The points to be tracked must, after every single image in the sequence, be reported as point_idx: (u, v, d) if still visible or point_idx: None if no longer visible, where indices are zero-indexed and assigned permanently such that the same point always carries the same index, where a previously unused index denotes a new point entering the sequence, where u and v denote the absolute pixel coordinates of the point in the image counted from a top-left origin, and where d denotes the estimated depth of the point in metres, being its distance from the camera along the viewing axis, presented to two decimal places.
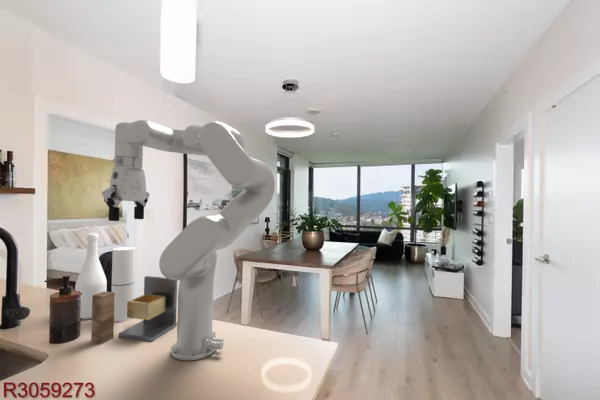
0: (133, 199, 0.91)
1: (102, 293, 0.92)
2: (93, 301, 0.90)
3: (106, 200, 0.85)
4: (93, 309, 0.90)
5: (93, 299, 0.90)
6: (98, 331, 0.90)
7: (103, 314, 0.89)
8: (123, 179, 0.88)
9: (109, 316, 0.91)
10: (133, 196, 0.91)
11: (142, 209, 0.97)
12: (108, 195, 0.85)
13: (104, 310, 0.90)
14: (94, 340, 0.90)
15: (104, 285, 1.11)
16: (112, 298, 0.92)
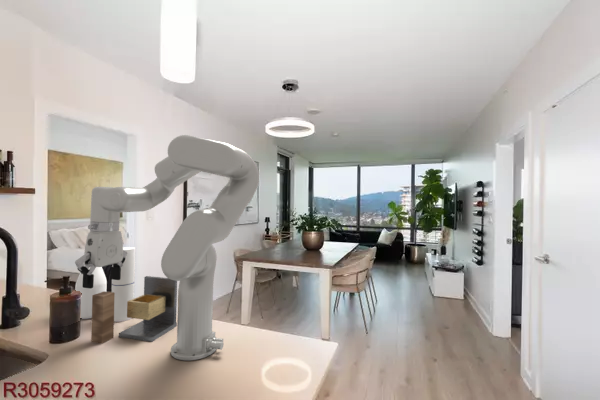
0: (108, 263, 0.91)
1: (102, 293, 0.92)
2: (93, 301, 0.90)
3: (79, 269, 0.84)
4: (93, 309, 0.90)
5: (93, 299, 0.90)
6: (98, 331, 0.90)
7: (103, 314, 0.89)
8: (98, 246, 0.87)
9: (109, 316, 0.91)
10: (108, 261, 0.90)
11: (119, 270, 0.96)
12: (81, 264, 0.84)
13: (104, 310, 0.90)
14: (94, 340, 0.90)
15: (104, 285, 1.11)
16: (112, 298, 0.92)
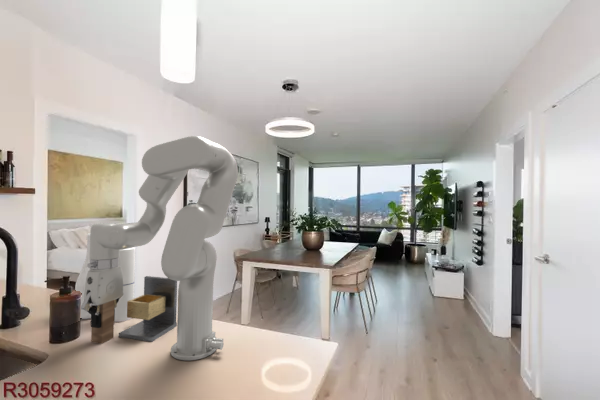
0: (109, 300, 0.90)
1: None
2: None
3: None
4: None
5: None
6: (98, 331, 0.90)
7: (103, 314, 0.89)
8: (98, 285, 0.87)
9: (109, 316, 0.91)
10: (109, 297, 0.90)
11: None
12: (88, 307, 0.86)
13: (104, 310, 0.90)
14: (94, 340, 0.90)
15: None
16: None
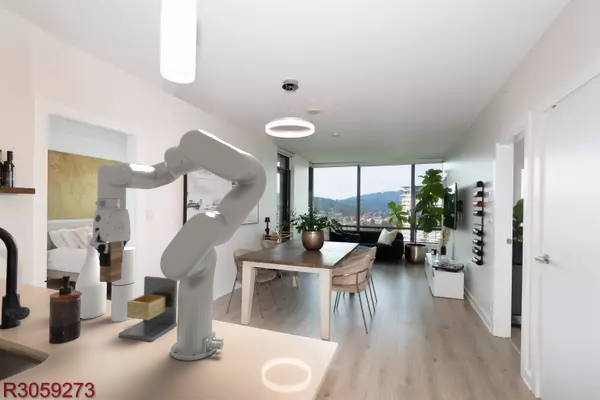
0: (117, 240, 0.91)
1: None
2: None
3: (96, 247, 0.87)
4: None
5: None
6: (106, 270, 0.90)
7: (111, 253, 0.90)
8: (106, 222, 0.88)
9: (117, 256, 0.92)
10: (117, 237, 0.91)
11: None
12: (97, 244, 0.87)
13: (112, 249, 0.91)
14: (102, 279, 0.91)
15: (104, 285, 1.11)
16: None
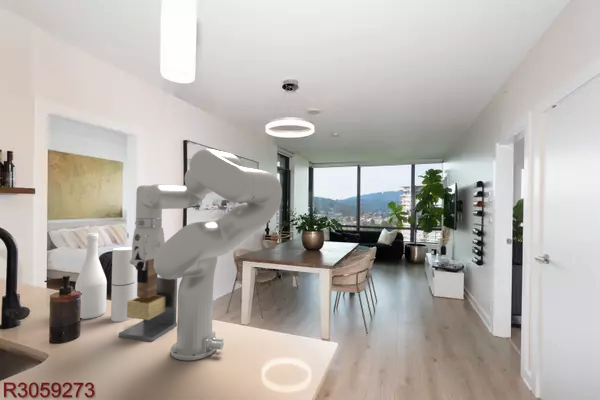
0: (153, 258, 0.96)
1: None
2: None
3: None
4: None
5: None
6: (143, 286, 0.95)
7: (148, 270, 0.95)
8: (145, 241, 0.93)
9: (153, 273, 0.97)
10: (153, 255, 0.96)
11: None
12: (136, 262, 0.92)
13: (149, 266, 0.95)
14: (140, 295, 0.95)
15: (104, 285, 1.11)
16: None
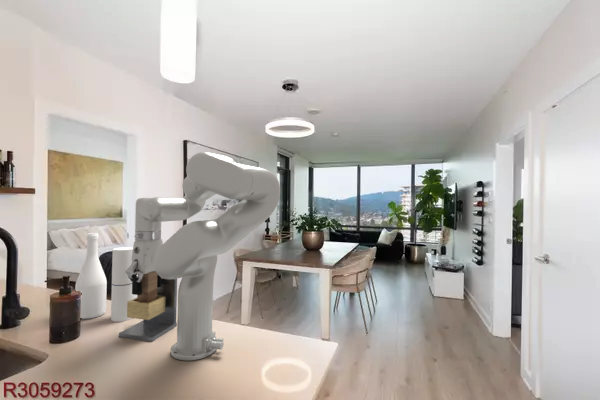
0: (153, 270, 0.96)
1: None
2: None
3: (130, 277, 0.90)
4: None
5: None
6: None
7: (148, 286, 0.95)
8: (144, 254, 0.92)
9: (153, 288, 0.97)
10: (153, 267, 0.96)
11: (159, 277, 1.01)
12: (132, 273, 0.90)
13: (149, 282, 0.95)
14: None
15: (104, 285, 1.11)
16: (155, 272, 0.98)
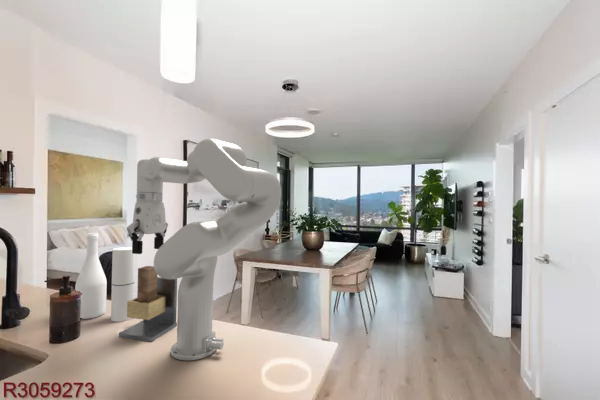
0: (154, 232, 0.96)
1: (146, 267, 0.98)
2: (139, 274, 0.96)
3: (130, 235, 0.90)
4: (139, 281, 0.96)
5: (138, 272, 0.96)
6: None
7: (148, 286, 0.95)
8: (146, 214, 0.93)
9: (153, 288, 0.97)
10: (154, 229, 0.96)
11: (162, 239, 1.01)
12: (132, 231, 0.90)
13: (149, 282, 0.95)
14: None
15: (104, 285, 1.11)
16: (155, 272, 0.98)
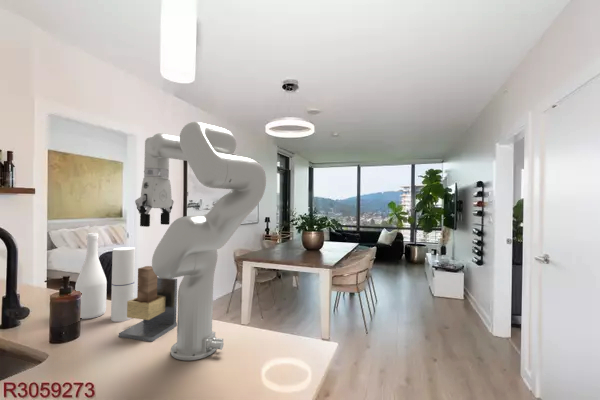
0: (161, 206, 1.00)
1: (146, 267, 0.98)
2: (139, 274, 0.96)
3: (139, 208, 0.94)
4: (139, 281, 0.96)
5: (138, 272, 0.96)
6: None
7: (148, 286, 0.95)
8: (153, 189, 0.97)
9: (153, 288, 0.97)
10: (161, 204, 1.00)
11: (168, 215, 1.06)
12: (140, 204, 0.94)
13: (149, 282, 0.95)
14: None
15: (104, 285, 1.11)
16: None
